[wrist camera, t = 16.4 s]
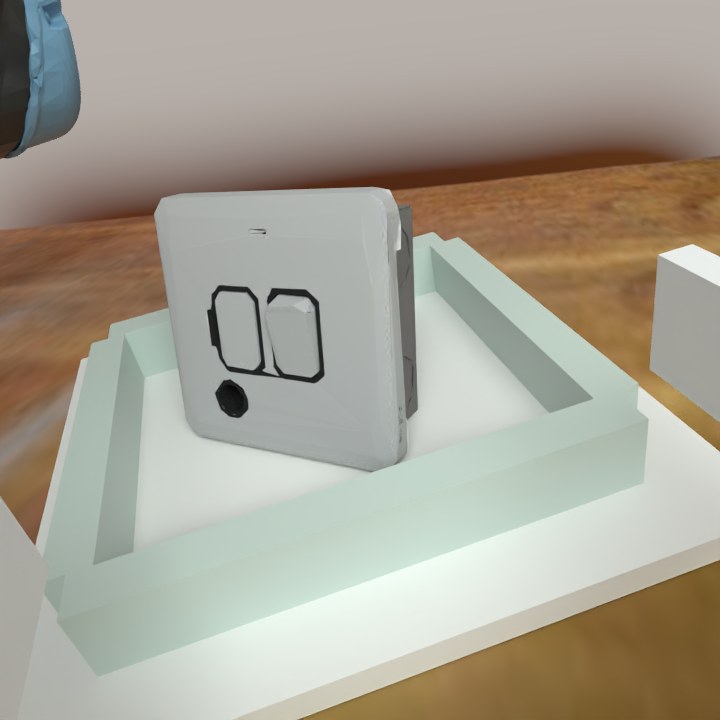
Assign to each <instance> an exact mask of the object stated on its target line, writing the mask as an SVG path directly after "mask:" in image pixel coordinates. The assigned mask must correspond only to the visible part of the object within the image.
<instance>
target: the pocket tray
mask: <svg viewBox="0 0 720 720" xmlns="http://www.w3.org/2000/svg"><path fill="white" fill-rule="evenodd" d="M413 265H414V298H415V331H416V364H417V397H418V410H417V411H416V412H415V413H414V414H413V415H412V416H411V417H410V418H409V419H408V420H407V424H408V434H409V441H408V448H407V453H406V456H405V457H404V459H403V460H402V461H401V462H400V463H398V464H396V465H393V466H390V467H387V468H384V469H381V470H378V471H375V472H374V471H369V470H364V469H359V468H354V467H350V466H345V465H340V464H335V463H330V462H325V461H320V460H315V459H310V458H305V457H300V456H295V455H290V454H285V453H280V452H275V451H270V450H265V449H260V448H255V447H250V446H245V445H240V444H235V443H231V442H226V441H221V440H216V439H211V438H206V437H201V436H200V435H198V434H197V433H196V432H194V430H193V429H192V428H191V426H190V425H189V424H188V422H187V421H186V416H185V410H184V403H183V397H182V390H181V384H180V378H179V371H178V365H177V358H176V352H175V346H174V339H173V333H172V326H171V320H170V313H169V308H166V309H162V310H159V311H155V312H152V313H148V314H145V315H141V316H138V317H134V318H131V319H127V320H124V321H120V322H117V323H113V324H111V325H110V330H109V336H108V339H105V340H101V341H98V342H94V343H92V344H91V348H90V353H89V357H87V358H84V359H81V362H80V366H79V370H78V374H77V379H76V383H75V387H74V391H73V395H72V399H71V403H70V407H69V411H68V415H67V419H66V423H65V427H64V431H63V435H62V439H61V443H60V448H59V452H58V456H57V460H56V464H55V468H54V472H53V476H52V480H51V484H50V488H49V492H48V496H47V500H46V504H45V508H44V512H43V517H42V521H41V525H40V529H39V533H38V537H37V541H36V545H35V547H36V549H37V550H38V552H39V553H40V554H41V556H42V557H43V559H44V560H45V562H46V563H47V564H48V566H49V567H50V568H49V573H48V578H47V582H46V587H45V592H44V597H43V601H42V606H41V611H40V615H39V620H38V625H37V630H36V634H35V639H34V644H33V649H32V653H31V658H30V663H29V667H28V672H27V677H26V682H25V686H24V691H23V696H22V701H21V705H20V710H19V715H18V719H17V720H298V719H301V718H303V717H306V716H308V715H311V714H314V713H316V712H319V711H322V710H324V709H327V708H330V707H332V706H335V705H338V704H340V703H343V702H345V701H348V700H351V699H353V698H356V697H359V696H361V695H364V694H367V693H369V692H372V691H375V690H377V689H380V688H382V687H385V686H388V685H390V684H393V683H396V682H398V681H401V680H404V679H406V678H409V677H412V676H414V675H417V674H419V673H422V672H425V671H427V670H430V669H433V668H435V667H438V666H441V665H443V664H446V663H449V662H451V661H454V660H456V659H459V658H462V657H464V656H467V655H470V654H472V653H475V652H478V651H480V650H483V649H486V648H488V647H491V646H493V645H496V644H499V643H501V642H504V641H507V640H509V639H512V638H515V637H517V636H520V635H523V634H525V633H528V632H530V631H533V630H536V629H538V628H541V627H544V626H546V625H549V624H552V623H554V622H557V621H560V620H562V619H565V618H567V617H570V616H573V615H575V614H578V613H581V612H583V611H586V610H589V609H591V608H594V607H597V606H599V605H602V604H604V603H607V602H610V601H612V600H615V599H618V598H620V597H623V596H626V595H628V594H631V593H634V592H636V591H639V590H641V589H644V588H647V587H649V586H652V585H655V584H657V583H660V582H663V581H665V580H668V579H671V578H673V577H676V576H678V575H681V574H684V573H686V572H689V571H692V570H694V569H697V568H700V567H702V566H705V565H708V564H710V563H713V562H715V561H718V560H720V452H719V451H718V450H717V449H716V448H714V447H713V446H712V445H711V444H709V443H708V442H707V441H706V440H704V439H703V438H702V437H701V436H700V435H698V434H697V433H696V432H695V431H693V430H692V429H691V428H690V427H689V426H687V425H686V424H685V423H684V422H682V421H681V420H680V419H679V418H678V417H676V416H675V415H674V414H673V413H671V412H670V411H669V410H668V409H667V408H665V407H664V406H663V405H662V404H660V403H659V402H658V401H657V400H656V399H654V398H653V397H652V396H651V395H649V394H648V393H647V392H646V391H644V390H643V389H642V388H641V387H640V386H639V384H638V383H637V382H636V381H635V380H634V379H632V378H631V377H630V376H629V375H627V374H626V373H625V372H624V371H622V370H621V369H620V368H619V367H618V366H616V365H615V364H614V363H613V362H611V361H610V360H609V359H608V358H606V357H605V356H604V355H603V354H602V353H600V352H599V351H598V350H597V349H595V348H594V347H593V346H592V345H590V344H589V343H588V342H587V341H586V340H584V339H583V338H582V337H581V336H579V335H578V334H577V333H576V332H574V331H573V330H572V329H571V328H570V327H568V326H567V325H566V324H565V323H563V322H562V321H561V320H560V319H558V318H557V317H556V316H555V315H554V314H552V313H551V312H550V311H549V310H547V309H546V308H545V307H544V306H542V305H541V304H540V303H539V302H538V301H536V300H535V299H534V298H533V297H531V296H530V295H529V294H528V293H526V292H525V291H524V290H523V289H522V288H520V287H519V286H518V285H517V284H515V283H514V282H513V281H512V280H510V279H509V278H508V277H507V276H506V275H504V274H503V273H502V272H501V271H499V270H498V269H497V268H496V267H494V266H493V265H492V264H491V263H490V262H488V261H487V260H486V259H485V258H483V257H482V256H481V255H480V254H478V253H477V252H476V251H475V250H474V249H472V248H471V247H470V246H469V245H467V244H466V243H465V242H464V241H462V240H461V239H460V238H459V237H458V238H454V239H451V240H447V241H443V240H442V239H441V238H440V237H439V236H437V235H436V234H435V233H434V232H431V233H428V234H424V235H421V236H417V237H414V238H413ZM404 356H405V355H404Z"/></svg>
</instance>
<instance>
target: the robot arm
mask: <svg viewBox="0 0 720 720" xmlns="http://www.w3.org/2000/svg"><path fill="white" fill-rule="evenodd" d="M80 104H81V91H80V80H79V73H78V67H77V61H76V55H75V50H74V46H73V41H72V37H71V33H70V30H69V26H68V24H67V22H66V20H65V18H64V16H63V14H62V12H61V2H60V0H0V159H1V158H12V157H16V156H18V155H20V154H21V153H23V152H24V151H25V150H26V149H27V148H30V147H33V146H36V145H39V144H42V143H45V142H48V141H50V140H54V139H57V138H59V137H61V136H63V135H65V134H66V133H67V132H68V131H70V130H71V128H72V127H73V126H74V124H75V123H76V121H77V118H78V115H79V111H80ZM650 370H651V371H653V372H654V373H655V374H657V375H658V376H659V377H661V378H662V379H663V380H665V381H666V382H667V383H668V384H670V385H671V386H672V387H674V388H675V389H676V390H678V391H679V392H680V393H682V394H683V395H684V396H686V397H687V398H688V399H689V400H691V401H692V402H693V403H695V404H696V405H697V406H699V407H700V408H701V409H703V410H704V411H705V412H707V413H708V414H709V415H710V416H712V417H713V418H714V419H716V420H717V421H718V422H720V257H719V256H717V255H715V254H712V253H710V252H708V251H706V250H704V249H702V248H699V247H697V246H695V245H693V244H692V245H688V246H685V247H682V248H679V249H675V250H672V251H669V252H665V253H662V254H659V255H658V264H657V277H656V290H655V304H654V317H653V330H652V344H651V357H650ZM49 568H50V567H49V566H48V564H47V563H46V562H45V560H44V559H43V557H42V556H41V554H40V553H39V552H38V550H37V549H36V547H35V546H34V544H33V543H32V541H31V540H30V539H29V537H28V536H27V534H26V533H25V531H24V530H23V529H22V527H21V526H20V524H19V523H18V521H17V520H16V518H15V517H14V516H13V514H12V513H11V511H10V510H9V508H8V507H7V506H6V504H5V503H4V501H3V500H2V498H1V497H0V720H17V719H18V715H19V710H20V705H21V701H22V696H23V691H24V686H25V682H26V677H27V672H28V667H29V663H30V658H31V653H32V649H33V644H34V639H35V634H36V630H37V625H38V620H39V615H40V611H41V606H42V601H43V597H44V592H45V587H46V582H47V578H48V573H49Z"/></svg>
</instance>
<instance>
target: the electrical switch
mask: <svg viewBox="0 0 720 720" xmlns="http://www.w3.org/2000/svg"><path fill="white" fill-rule="evenodd" d="M403 209H404V210H403ZM154 217H155V224H156V230H157V236H158V243H159V249H160V256H161V262H162V269H163V275H164V281H165V288H166V294H167V301H168V307H169V313H170V320H171V326H172V333H173V339H174V346H175V352H176V358H177V365H178V371H179V378H180V384H181V390H182V397H183V403H184V410H185V416H186V421H187V422H188V424H189V425H190V426H191V428H192V429H193V430H194V432H196V433H197V434H198V435H200V436H201V437H206V438H211V439H216V440H221V441H226V442H231V443H235V444H240V445H245V446H250V447H255V448H260V449H265V450H270V451H275V452H280V453H285V454H290V455H295V456H300V457H305V458H310V459H315V460H320V461H325V462H330V463H335V464H340V465H345V466H350V467H354V468H359V469H364V470H369V471H374V472H375V471H378V470H381V469H384V468H387V467H390V466H393V465H396V464H398V463H400V462H401V461H402V460H403V459H404V457H405V456H406V453H407V448H408V441H409V434H408V424H407V420H408V419H409V418H410V417H411V416H412V415H413V414H414V413H415V412H416V411H417V410H418V397H417V364H416V331H415V298H414V265H413V232H412V209H410V205H397V204H396V202H395V200H394V198H393V196H392V194H391V192H390V190H387V189H382V188H376V187H362V188H331V189H301V190H274V191H272V190H271V191H242V192H211V193H182V194H178V195H173V196H169V197H166V198H162V199H161V201H160V203H159V205H158V207H157V209H156V211H155V213H154ZM404 355H405V356H404Z"/></svg>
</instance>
